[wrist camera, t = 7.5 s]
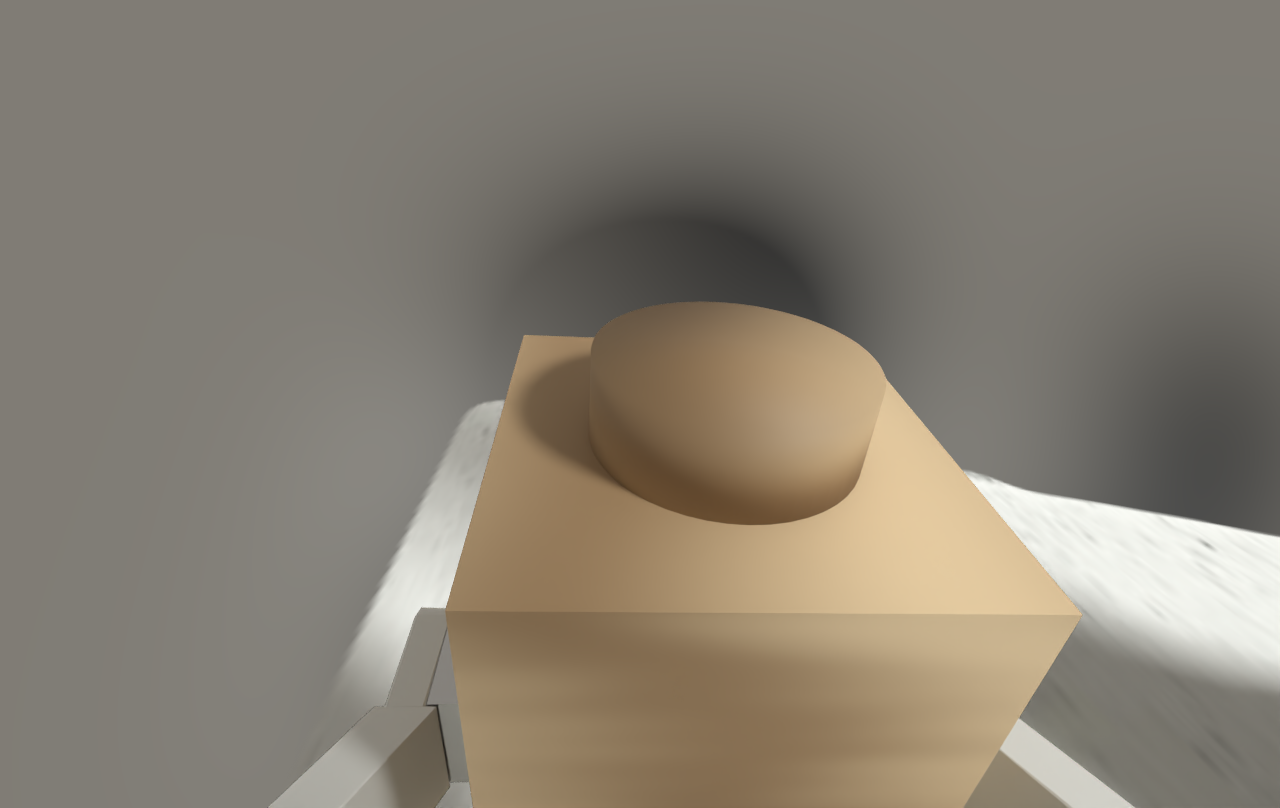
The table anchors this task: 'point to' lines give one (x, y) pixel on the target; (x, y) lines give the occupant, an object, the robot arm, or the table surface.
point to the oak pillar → (734, 580)
